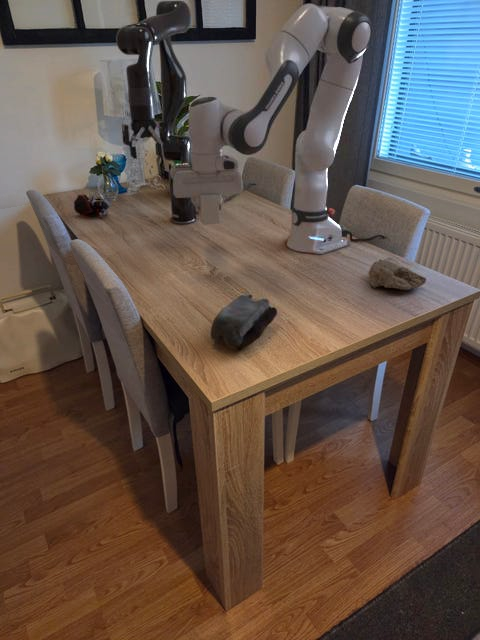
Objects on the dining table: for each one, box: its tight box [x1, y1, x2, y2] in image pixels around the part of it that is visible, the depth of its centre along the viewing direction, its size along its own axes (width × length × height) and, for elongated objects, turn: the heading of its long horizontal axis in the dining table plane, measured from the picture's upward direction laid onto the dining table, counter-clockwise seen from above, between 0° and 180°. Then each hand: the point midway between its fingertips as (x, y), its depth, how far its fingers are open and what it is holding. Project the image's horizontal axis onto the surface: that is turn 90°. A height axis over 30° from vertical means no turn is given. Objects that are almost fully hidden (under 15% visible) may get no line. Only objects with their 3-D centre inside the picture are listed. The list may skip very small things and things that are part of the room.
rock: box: [210, 294, 278, 352], centre depth 109 cm, size 18×11×8 cm, turn 152°
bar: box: [195, 194, 220, 225], centre depth 139 cm, size 28×5×8 cm, turn 9°
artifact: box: [368, 257, 427, 291], centre depth 135 cm, size 18×8×15 cm
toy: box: [73, 194, 111, 220], centre depth 187 cm, size 12×9×15 cm
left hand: (146, 156), depth 148 cm, fingers open, 8 cm apart
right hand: (209, 210), depth 132 cm, fingers closed on bar, 5 cm apart
